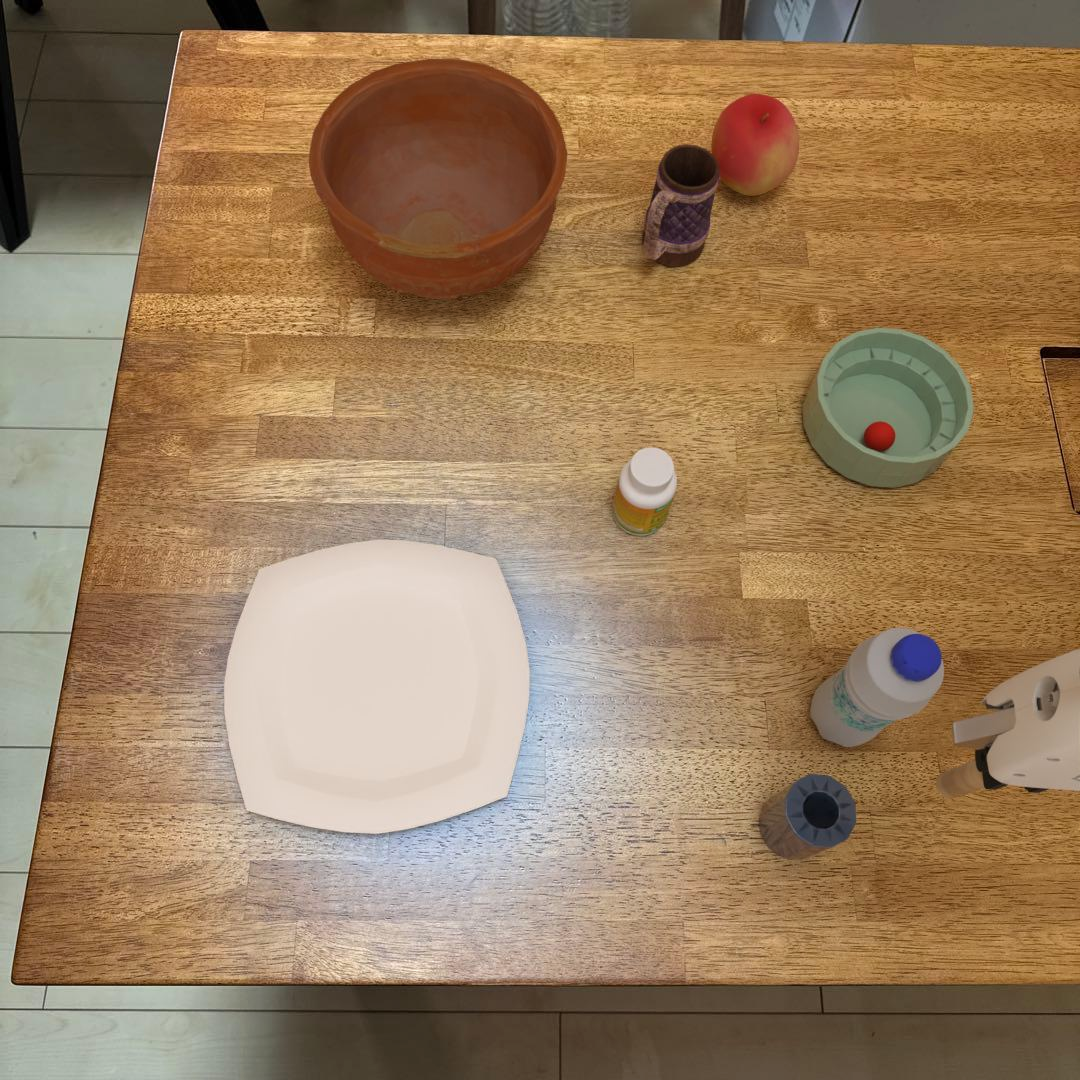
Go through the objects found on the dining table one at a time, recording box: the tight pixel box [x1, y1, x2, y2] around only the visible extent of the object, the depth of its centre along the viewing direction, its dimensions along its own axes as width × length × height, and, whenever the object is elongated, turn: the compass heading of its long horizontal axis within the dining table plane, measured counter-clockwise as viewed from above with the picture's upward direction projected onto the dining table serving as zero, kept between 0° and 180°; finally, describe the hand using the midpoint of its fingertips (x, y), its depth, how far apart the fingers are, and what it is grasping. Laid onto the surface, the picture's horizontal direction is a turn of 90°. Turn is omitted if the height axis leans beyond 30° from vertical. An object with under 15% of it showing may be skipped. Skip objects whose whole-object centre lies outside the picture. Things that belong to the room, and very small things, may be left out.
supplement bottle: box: [611, 446, 678, 537], centre depth 95 cm, size 5×5×10 cm
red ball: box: [864, 421, 895, 452], centre depth 102 cm, size 3×3×3 cm
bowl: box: [308, 58, 568, 301], centre depth 105 cm, size 25×25×15 cm
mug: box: [641, 144, 720, 267], centre depth 107 cm, size 10×7×12 cm
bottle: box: [809, 627, 945, 748], centre depth 83 cm, size 7×7×20 cm
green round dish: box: [802, 327, 975, 489], centre depth 102 cm, size 15×15×6 cm
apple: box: [710, 93, 800, 197], centre depth 112 cm, size 10×10×10 cm
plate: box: [223, 538, 531, 835], centre depth 91 cm, size 27×27×2 cm
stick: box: [935, 759, 985, 800], centre depth 63 cm, size 2×2×14 cm
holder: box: [758, 773, 858, 861], centre depth 84 cm, size 6×6×9 cm
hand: (1007, 765), depth 61 cm, fingers closed on stick, 1 cm apart
